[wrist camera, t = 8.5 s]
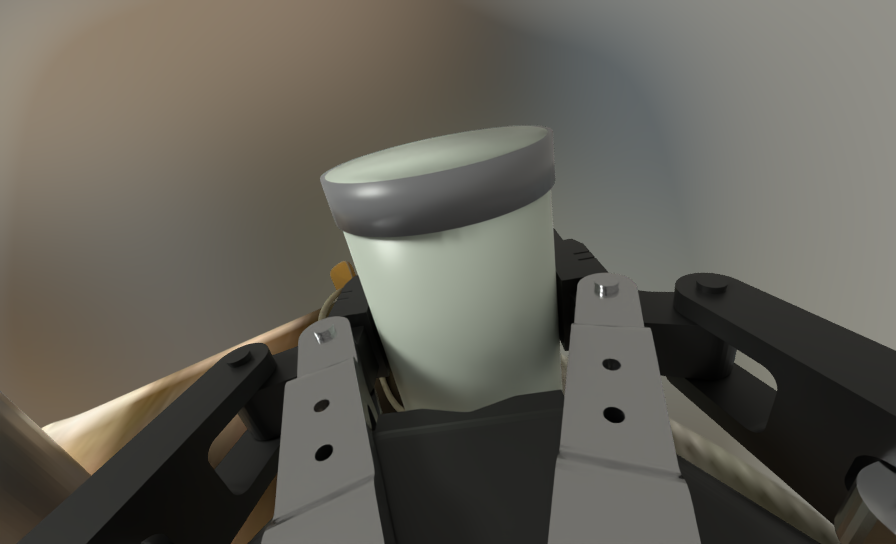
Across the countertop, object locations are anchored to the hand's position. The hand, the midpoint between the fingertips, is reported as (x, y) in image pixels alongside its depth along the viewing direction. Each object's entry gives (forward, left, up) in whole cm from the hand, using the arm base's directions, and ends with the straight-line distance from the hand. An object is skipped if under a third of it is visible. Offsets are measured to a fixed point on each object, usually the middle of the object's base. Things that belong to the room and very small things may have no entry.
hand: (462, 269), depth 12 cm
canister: (0, -3, -6) cm, 7 cm away
